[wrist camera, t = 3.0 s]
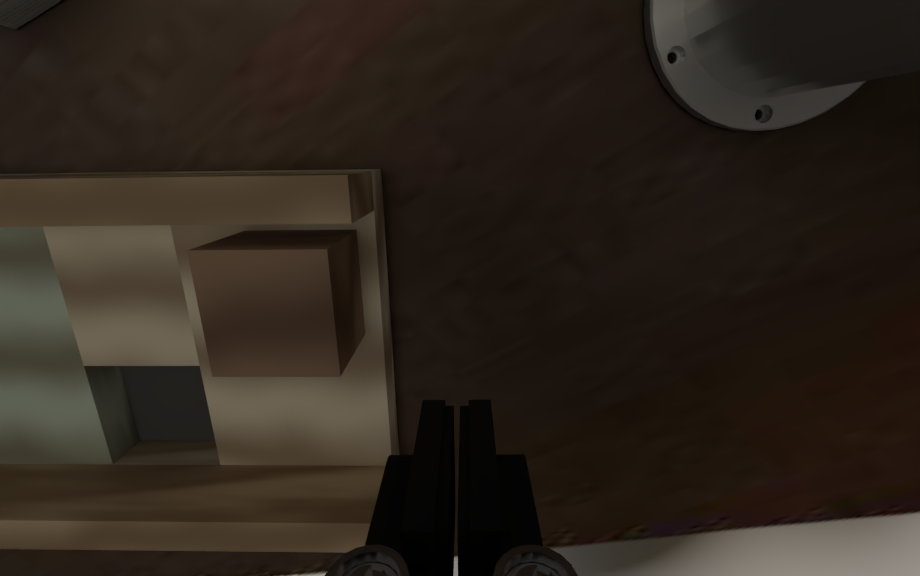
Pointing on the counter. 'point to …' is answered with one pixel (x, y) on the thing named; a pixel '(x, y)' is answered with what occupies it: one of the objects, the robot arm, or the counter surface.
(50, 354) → the channel deck
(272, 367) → the walnut block
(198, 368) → the trap pit mat
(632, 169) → the counter surface
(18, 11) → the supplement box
